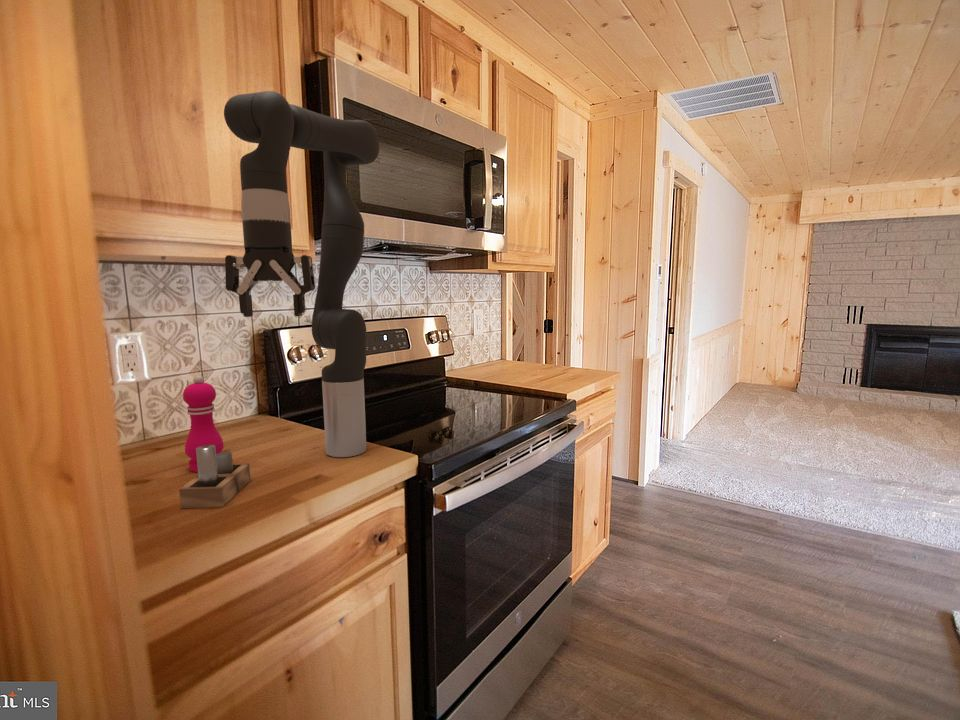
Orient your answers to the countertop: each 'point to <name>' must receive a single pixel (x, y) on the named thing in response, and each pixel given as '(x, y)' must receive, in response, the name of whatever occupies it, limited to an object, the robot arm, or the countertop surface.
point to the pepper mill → (200, 419)
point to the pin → (207, 466)
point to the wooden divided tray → (228, 487)
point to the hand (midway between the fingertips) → (273, 316)
